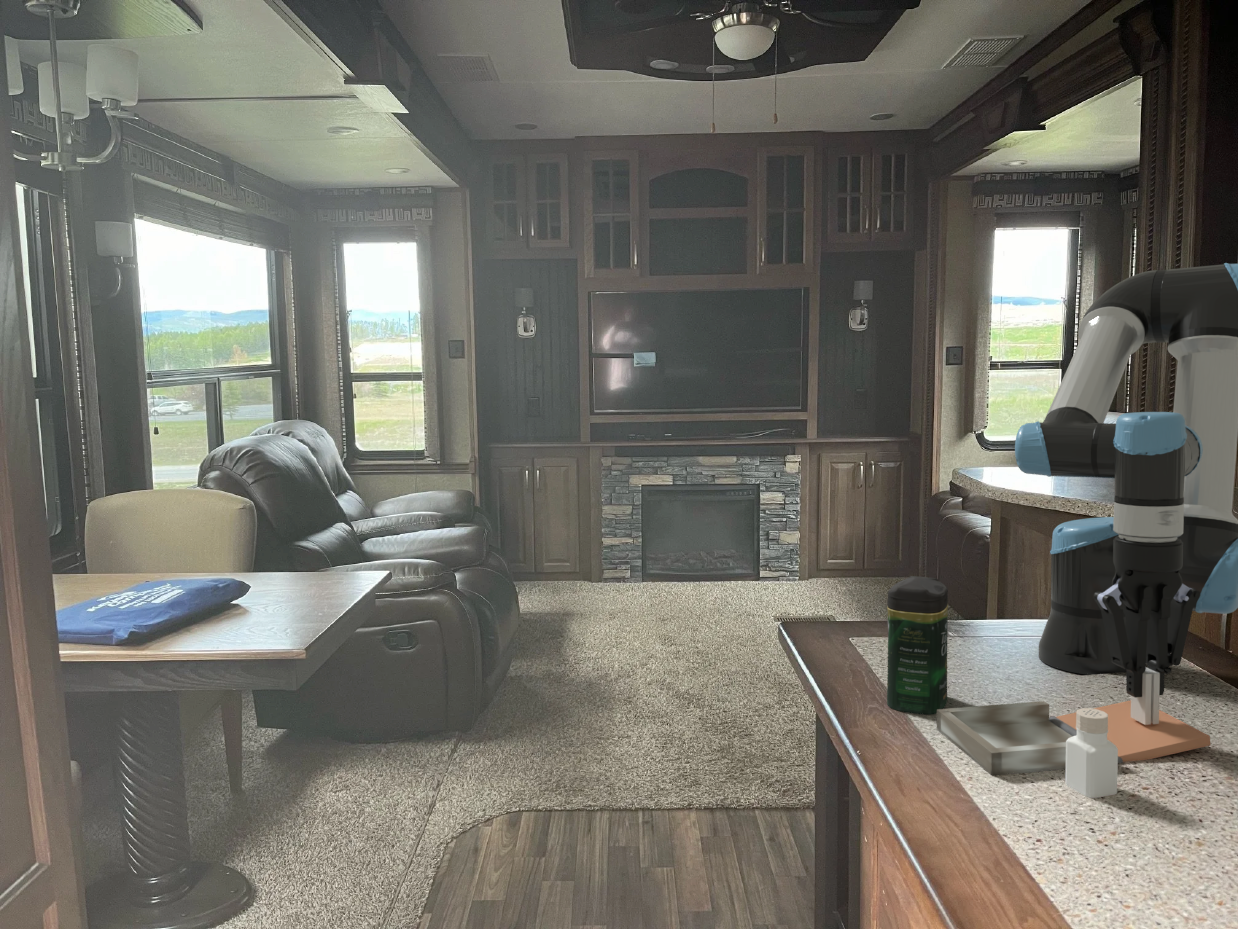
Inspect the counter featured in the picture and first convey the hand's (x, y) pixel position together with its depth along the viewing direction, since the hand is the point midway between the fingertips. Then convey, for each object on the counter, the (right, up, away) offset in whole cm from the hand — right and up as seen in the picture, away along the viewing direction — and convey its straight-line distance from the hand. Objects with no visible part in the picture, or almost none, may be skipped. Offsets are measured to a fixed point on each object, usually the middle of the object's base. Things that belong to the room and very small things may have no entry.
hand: (1144, 720), depth 115 cm
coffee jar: (-24, -3, +15) cm, 28 cm away
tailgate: (-8, -2, -1) cm, 8 cm away
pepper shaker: (-14, -5, -13) cm, 20 cm away
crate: (-16, -4, -1) cm, 17 cm away
